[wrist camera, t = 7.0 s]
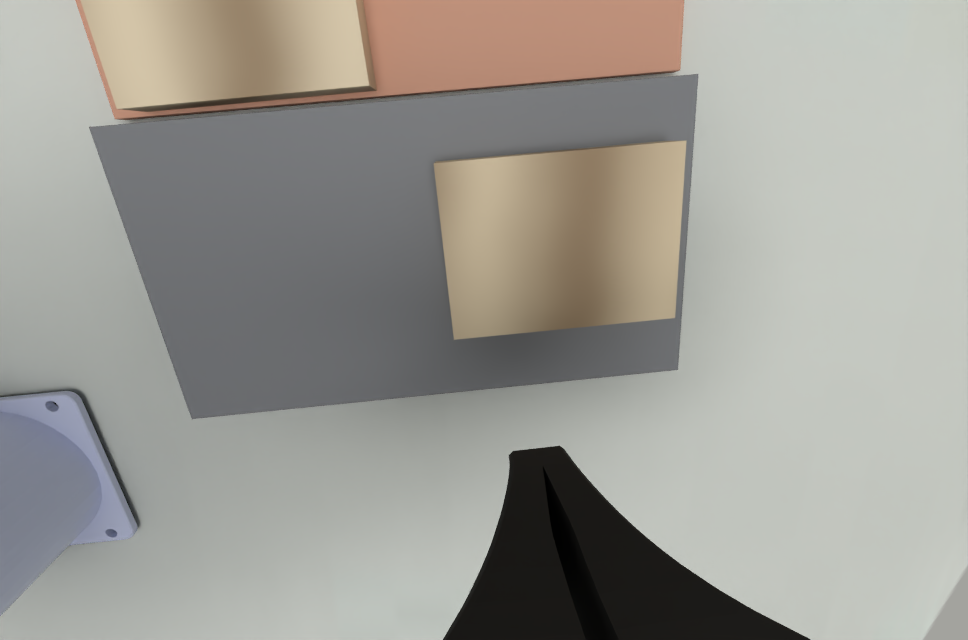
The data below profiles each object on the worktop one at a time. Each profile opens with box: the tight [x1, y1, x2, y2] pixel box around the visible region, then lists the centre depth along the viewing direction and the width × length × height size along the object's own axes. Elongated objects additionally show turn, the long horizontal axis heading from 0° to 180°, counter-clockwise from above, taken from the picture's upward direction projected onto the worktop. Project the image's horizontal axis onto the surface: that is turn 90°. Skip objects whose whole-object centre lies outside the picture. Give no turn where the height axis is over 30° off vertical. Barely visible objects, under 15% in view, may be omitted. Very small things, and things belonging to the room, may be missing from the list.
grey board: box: [89, 74, 698, 419], centre depth 18 cm, size 20×11×2 cm, turn 95°
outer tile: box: [434, 141, 686, 340], centre depth 17 cm, size 8×6×2 cm
